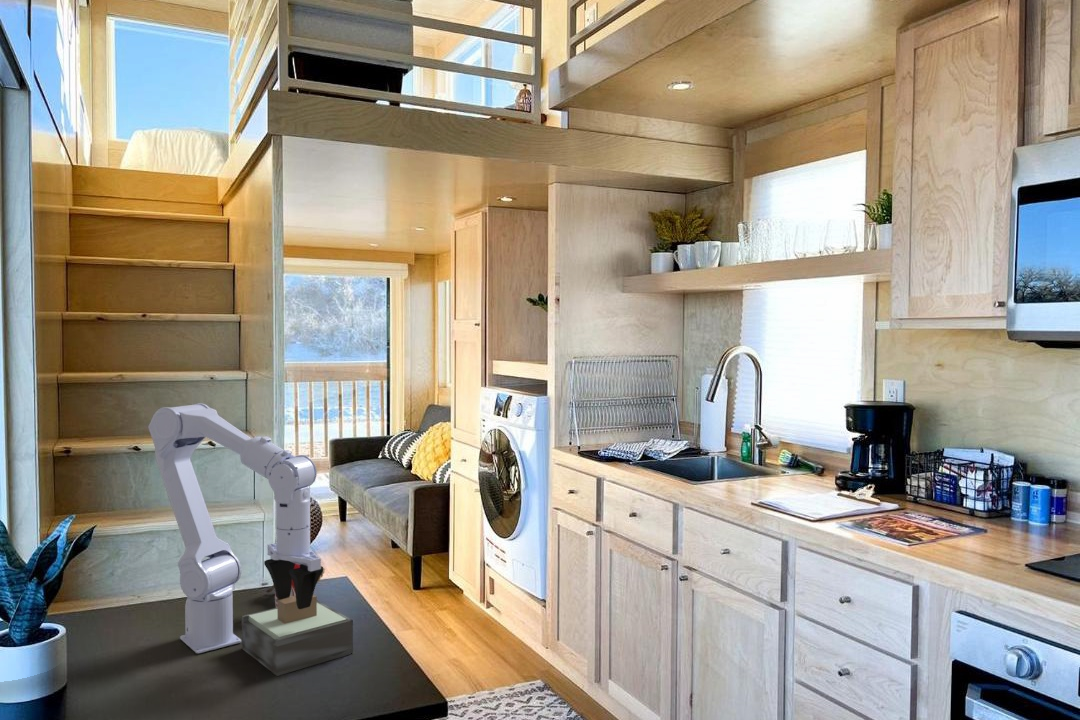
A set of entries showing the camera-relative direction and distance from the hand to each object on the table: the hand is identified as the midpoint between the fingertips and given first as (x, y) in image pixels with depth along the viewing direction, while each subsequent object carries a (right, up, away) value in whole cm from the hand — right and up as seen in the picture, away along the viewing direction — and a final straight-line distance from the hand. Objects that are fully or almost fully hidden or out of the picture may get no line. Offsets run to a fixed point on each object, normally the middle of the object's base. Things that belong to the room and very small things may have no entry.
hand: (293, 602), depth 139 cm
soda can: (-7, -9, +22) cm, 25 cm away
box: (0, -9, +2) cm, 10 cm away
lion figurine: (-9, -9, +30) cm, 32 cm away
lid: (0, -4, +3) cm, 5 cm away
